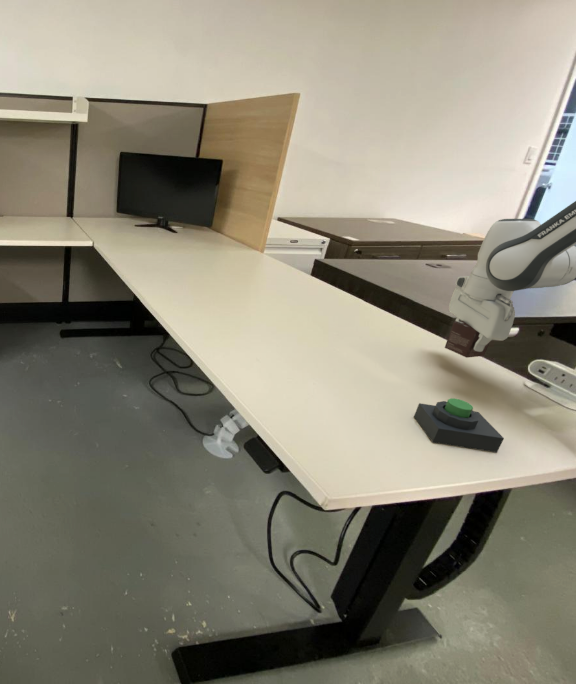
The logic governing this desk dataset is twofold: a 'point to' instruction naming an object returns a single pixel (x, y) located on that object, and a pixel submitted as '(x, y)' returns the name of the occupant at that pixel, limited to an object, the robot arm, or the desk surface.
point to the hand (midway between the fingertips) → (467, 342)
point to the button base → (457, 428)
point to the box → (464, 340)
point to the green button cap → (458, 408)
